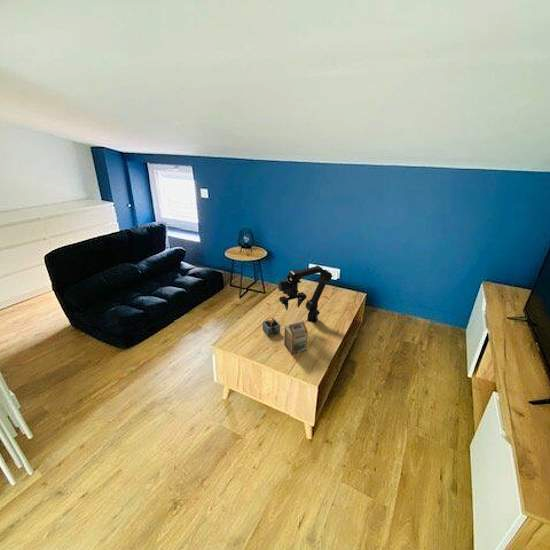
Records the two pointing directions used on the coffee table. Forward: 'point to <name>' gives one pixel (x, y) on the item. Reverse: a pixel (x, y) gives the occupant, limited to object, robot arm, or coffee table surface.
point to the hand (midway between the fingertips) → (292, 308)
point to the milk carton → (296, 337)
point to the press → (271, 328)
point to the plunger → (271, 321)
